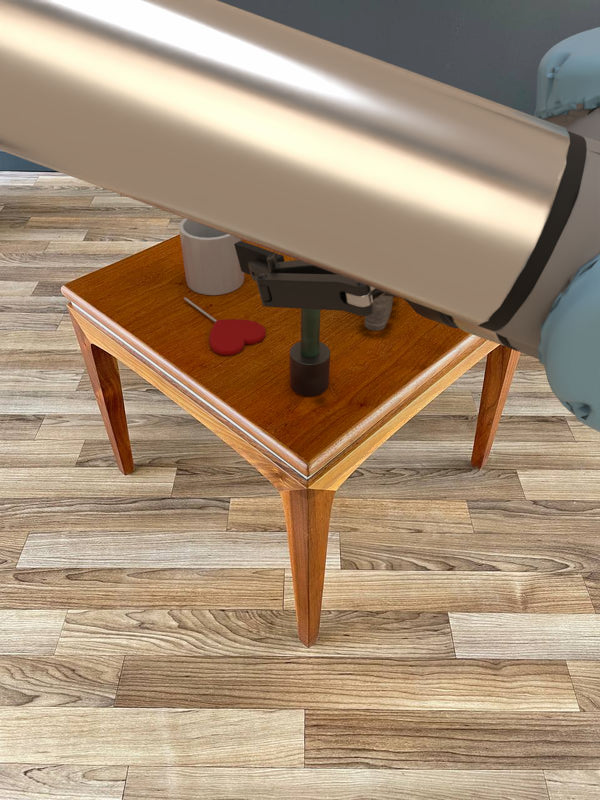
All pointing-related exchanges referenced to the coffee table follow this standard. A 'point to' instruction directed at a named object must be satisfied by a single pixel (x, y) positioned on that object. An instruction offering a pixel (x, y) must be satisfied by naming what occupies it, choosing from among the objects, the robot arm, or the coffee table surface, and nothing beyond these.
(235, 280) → the canister
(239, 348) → the lollipop
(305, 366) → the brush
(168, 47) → the robot arm
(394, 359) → the coffee table surface
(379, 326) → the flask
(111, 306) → the coffee table surface
